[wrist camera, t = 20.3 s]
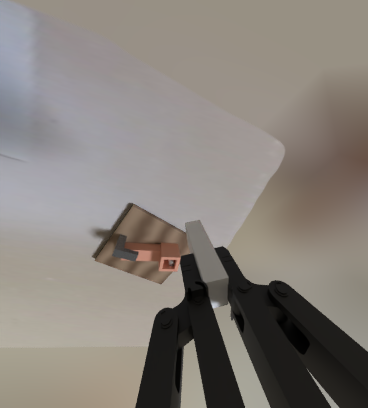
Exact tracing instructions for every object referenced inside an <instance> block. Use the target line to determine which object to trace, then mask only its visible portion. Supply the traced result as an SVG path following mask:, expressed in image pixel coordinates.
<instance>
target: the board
mask: <svg viewBox="0 0 368 408" xmlns="http://www.w3.org/2000/svg"><path fill="white" fill-rule="evenodd" d="M120 234H122V235H125V236H127V238H126V242H127V243H145V244H161V243H175V244H178V247H179V252H180V257H181V256H182V255H187V254H189V253H190V250H189V246H188V241H187V234H186V233H185V232H183V231H182V230H180V229H178V228H176V227H174V226H173V225H171V224H169V223H167V222H165V221H164V220H162V219H160V218H158V217H156V216H155V215H153V214H151V213H149V212H147V211H146V210H144V209H142V208H140V207H138V206H137V205H135V204H133V206H132V207H131V209H130V210H129V211H128V213H127V214H126V216H125V217H124V219H123V220H122V221H121V223H120V224H119V226H118V227H117V229H116V230H115V231H114V233H113V234H112V236H111V237H110V239H109V240H108V241H107V243H106V244H105V246H104V247H103V249H102V250H101V251H100V253H99V254H98V256H97V257H96V259H95V261H97V262H100V263H103V264H105V265H108V266H111V267H114V268H117V269H119V270H122V271H125V272H128V273H131V274H133V275H136V276H139V277H142V278H145V279H148V280H150V281H153V282H156V283H159V284H162V283H163V282H164V281H165V280H166V278H167V277H168V276H169V275H170V274H171V273H172V272H173V271H159V261H128V260H121V258H118V257H114V256H112V254H113V251H114V248H115V246H116V243H117V240H118V238H119V236H120ZM180 259H181V258H180ZM179 264H180V262H179Z"/></svg>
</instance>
